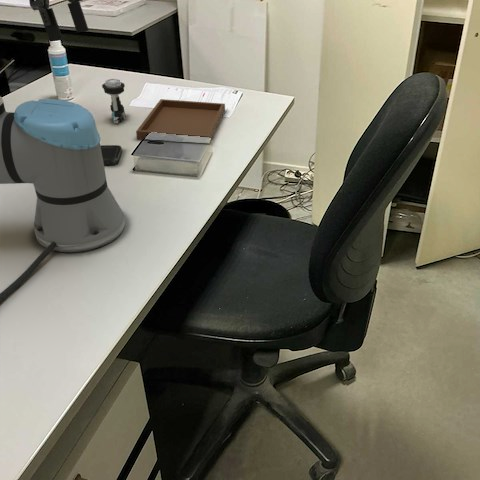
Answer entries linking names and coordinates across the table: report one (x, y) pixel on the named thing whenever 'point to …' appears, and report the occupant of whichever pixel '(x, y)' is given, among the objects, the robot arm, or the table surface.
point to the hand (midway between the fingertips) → (70, 36)
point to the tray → (183, 118)
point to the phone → (111, 154)
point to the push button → (115, 98)
